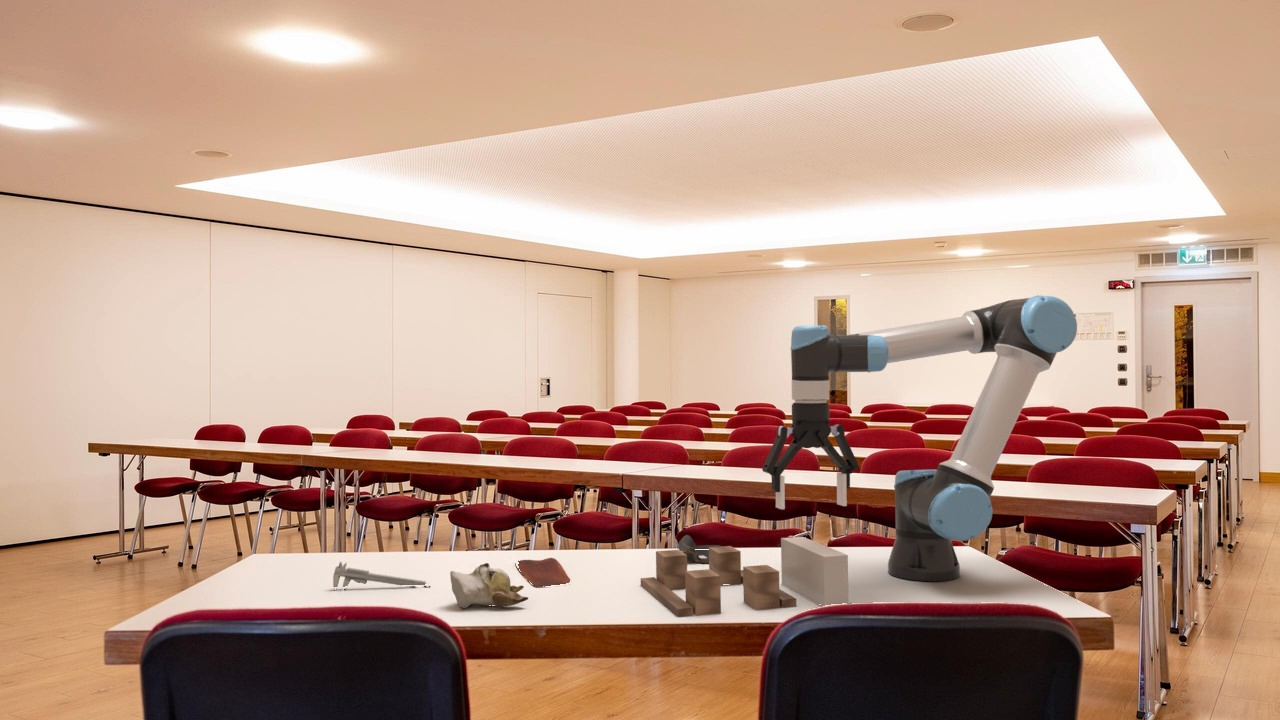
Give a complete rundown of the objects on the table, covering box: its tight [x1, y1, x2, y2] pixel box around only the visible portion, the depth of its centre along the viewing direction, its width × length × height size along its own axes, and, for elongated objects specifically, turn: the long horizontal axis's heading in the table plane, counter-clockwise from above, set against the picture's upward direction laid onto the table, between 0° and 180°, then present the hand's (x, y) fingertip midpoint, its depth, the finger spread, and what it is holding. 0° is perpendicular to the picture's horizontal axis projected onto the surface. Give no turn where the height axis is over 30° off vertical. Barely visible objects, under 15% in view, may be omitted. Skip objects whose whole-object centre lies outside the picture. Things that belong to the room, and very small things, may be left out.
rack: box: [640, 545, 797, 618], centre depth 187 cm, size 24×26×7 cm
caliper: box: [332, 561, 427, 588], centre depth 197 cm, size 20×1×6 cm, turn 95°
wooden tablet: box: [517, 557, 571, 588], centre depth 209 cm, size 27×10×2 cm, turn 15°
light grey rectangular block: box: [780, 536, 849, 607], centre depth 187 cm, size 5×20×10 cm, turn 15°
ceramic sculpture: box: [449, 562, 529, 609], centre depth 182 cm, size 11×9×15 cm
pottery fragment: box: [677, 534, 723, 564], centre depth 224 cm, size 15×12×4 cm
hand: (811, 506), depth 187 cm, fingers open, 13 cm apart
